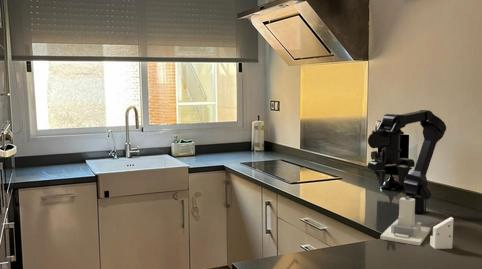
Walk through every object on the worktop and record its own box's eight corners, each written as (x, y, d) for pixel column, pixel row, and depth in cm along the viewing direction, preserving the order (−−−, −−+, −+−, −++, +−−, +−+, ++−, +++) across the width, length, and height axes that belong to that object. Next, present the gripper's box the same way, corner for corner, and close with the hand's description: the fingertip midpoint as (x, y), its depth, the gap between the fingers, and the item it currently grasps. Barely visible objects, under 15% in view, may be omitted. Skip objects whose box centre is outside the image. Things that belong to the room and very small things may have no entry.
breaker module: (401, 226, 174) (402, 194, 173) (414, 228, 172) (415, 196, 171) (397, 230, 170) (399, 197, 169) (411, 232, 168) (412, 199, 166)
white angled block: (465, 240, 157) (453, 218, 156) (438, 256, 157) (426, 234, 156) (460, 237, 161) (448, 215, 160) (434, 252, 161) (421, 230, 160)
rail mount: (393, 225, 182) (394, 214, 181) (430, 230, 175) (430, 220, 175) (380, 238, 167) (380, 227, 166) (419, 245, 160) (420, 233, 159)
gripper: (396, 142, 199) (395, 179, 201) (359, 145, 192) (358, 183, 194) (416, 145, 189) (414, 184, 191) (377, 148, 182) (376, 189, 184)
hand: (390, 185), depth 190 cm, fingers open, 9 cm apart
